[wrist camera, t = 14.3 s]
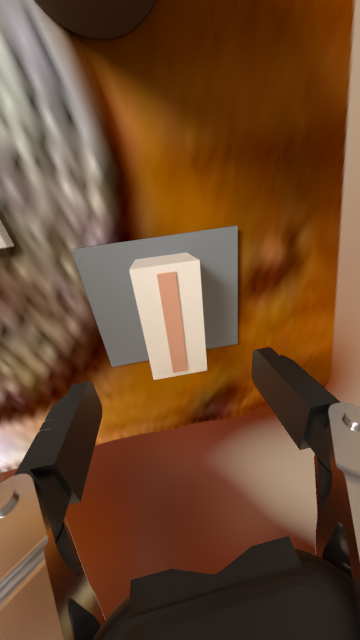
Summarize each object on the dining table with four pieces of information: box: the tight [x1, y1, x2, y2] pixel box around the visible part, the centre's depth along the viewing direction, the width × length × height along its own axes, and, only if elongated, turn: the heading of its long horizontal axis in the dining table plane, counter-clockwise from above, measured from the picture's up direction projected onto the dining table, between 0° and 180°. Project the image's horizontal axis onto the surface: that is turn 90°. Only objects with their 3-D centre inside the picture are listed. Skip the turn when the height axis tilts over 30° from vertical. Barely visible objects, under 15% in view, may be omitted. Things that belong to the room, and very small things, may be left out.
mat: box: [71, 226, 238, 367], centre depth 19 cm, size 14×12×1 cm
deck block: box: [129, 253, 207, 380], centre depth 16 cm, size 9×4×5 cm, turn 7°
